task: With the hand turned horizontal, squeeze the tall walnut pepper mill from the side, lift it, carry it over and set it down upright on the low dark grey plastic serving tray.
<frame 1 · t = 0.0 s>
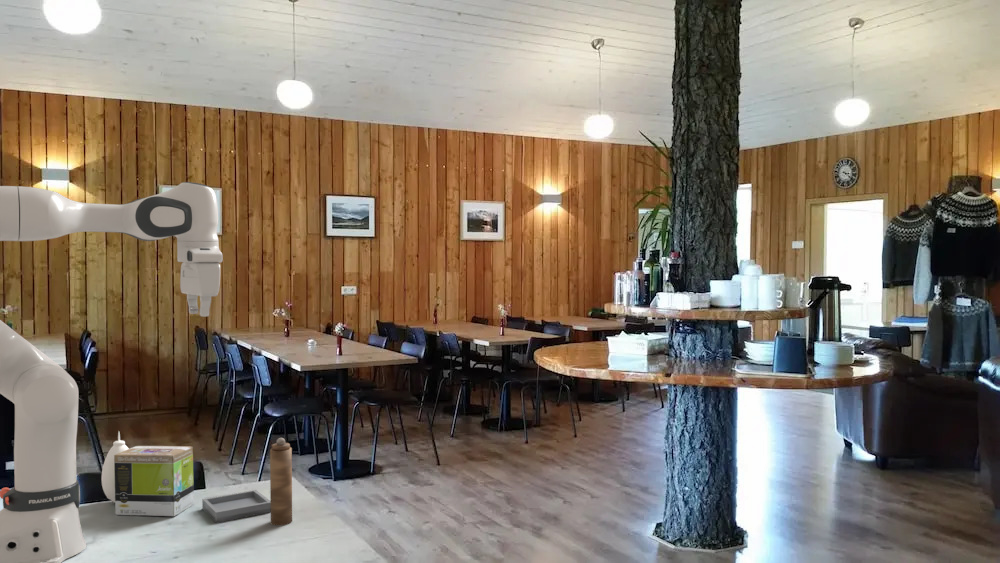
hand: (198, 315, 176), 48 cm above the table, tool pointing down, fingers open, 8 cm apart
tea box: (155, 510, 186), on the table
sauce bottle: (119, 503, 192), on the table
pepper mill: (281, 521, 178), on the table
serving tray: (237, 510, 186), on the table
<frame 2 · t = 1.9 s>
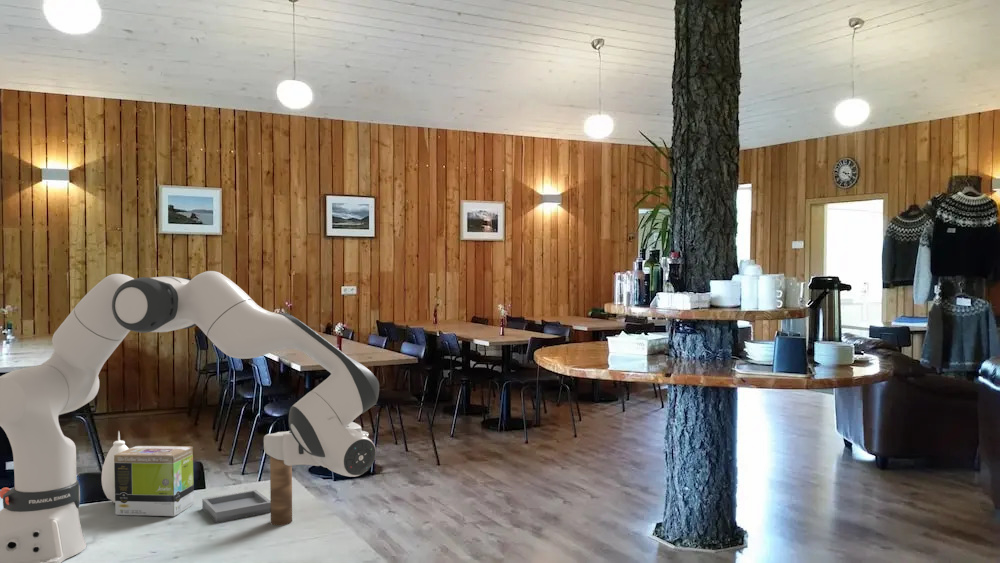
hand: (300, 432, 168), 23 cm above the table, tool horizontal, fingers open, 8 cm apart
nothing on the table moved.
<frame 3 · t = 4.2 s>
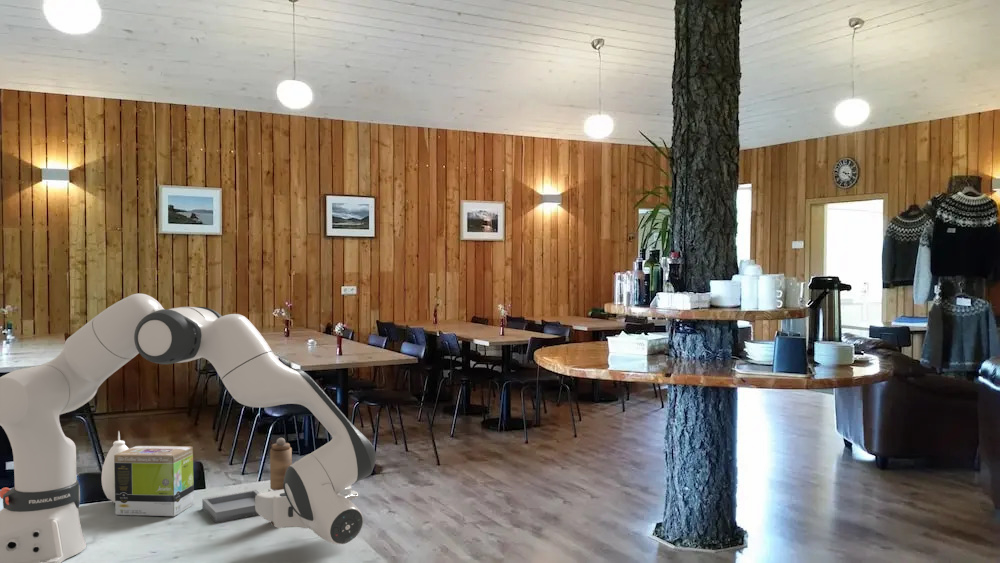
hand: (292, 488, 171), 10 cm above the table, tool horizontal, fingers open, 8 cm apart
nothing on the table moved.
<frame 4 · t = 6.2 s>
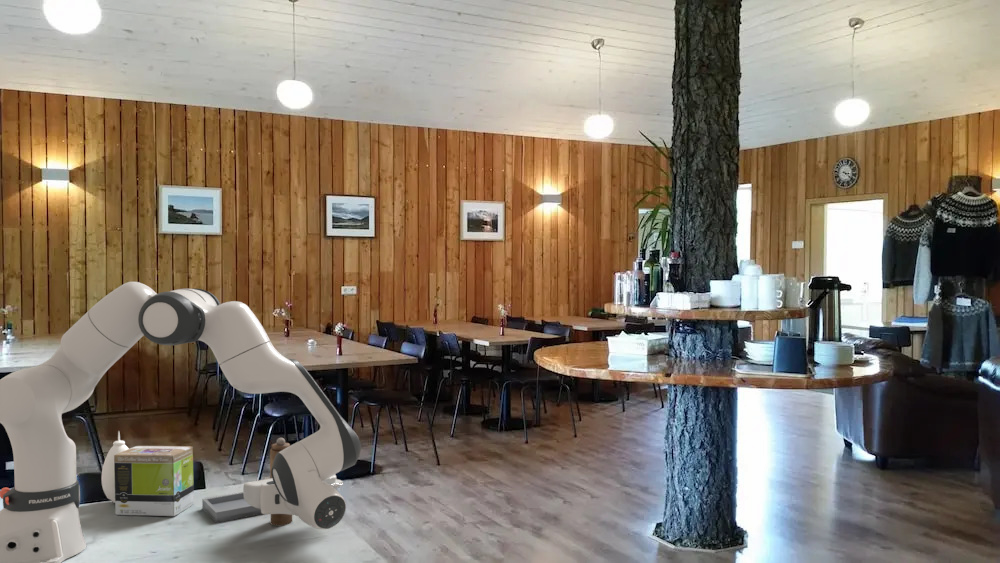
hand: (279, 478, 178), 10 cm above the table, tool horizontal, fingers closed on pepper mill, 5 cm apart
pepper mill: (281, 521, 178), on the table, touching gripper
everything else where it was.
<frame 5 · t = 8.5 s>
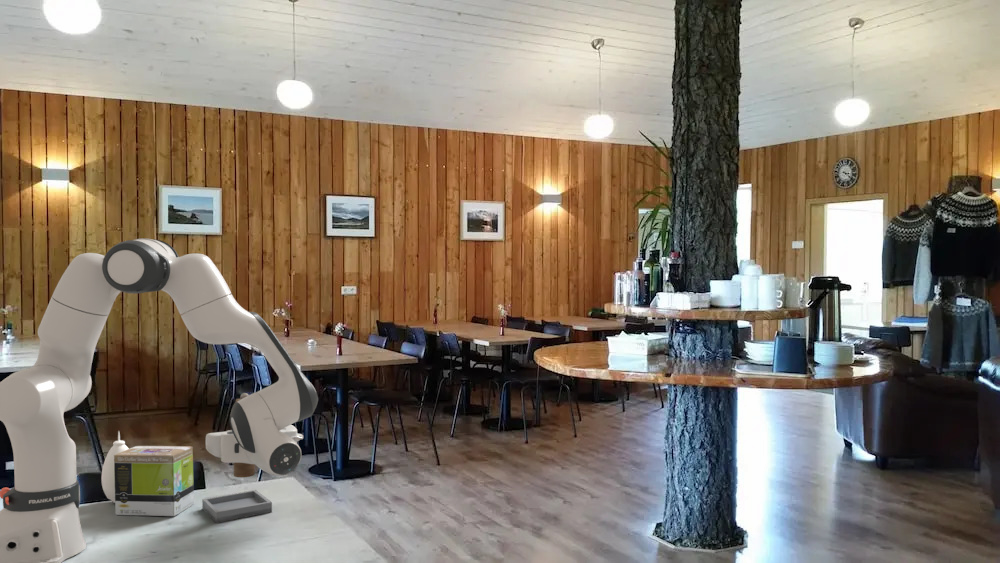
hand: (243, 432, 184), 19 cm above the table, tool horizontal, fingers closed on pepper mill, 5 cm apart
pepper mill: (244, 474, 184), point 9 cm above the table, touching gripper
everything else where it was.
when the fingers open (12 cm above the table, at t = 10.6 s): pepper mill drops 1 cm, resting on serving tray.
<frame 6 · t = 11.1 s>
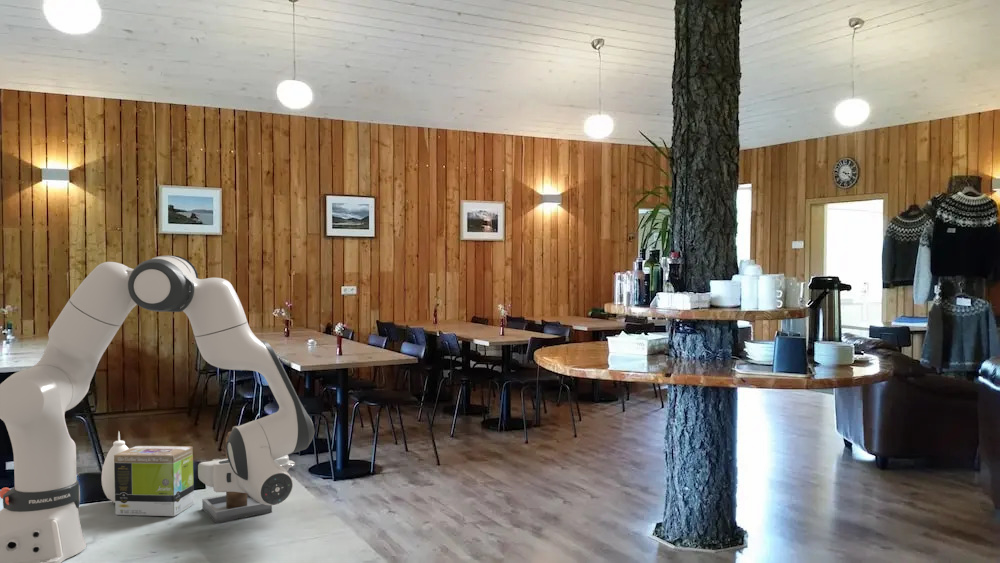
hand: (235, 459, 186), 12 cm above the table, tool horizontal, fingers open, 8 cm apart
pepper mill: (236, 506, 186), point 1 cm above the table, touching serving tray
everything else where it was.
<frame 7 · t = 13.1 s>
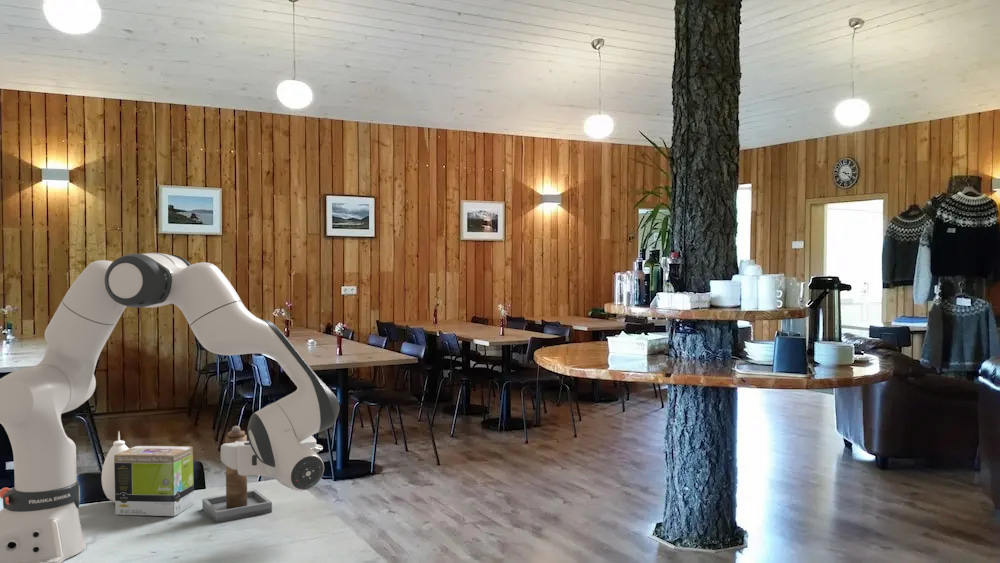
hand: (258, 441, 175), 19 cm above the table, tool horizontal, fingers open, 8 cm apart
nothing on the table moved.
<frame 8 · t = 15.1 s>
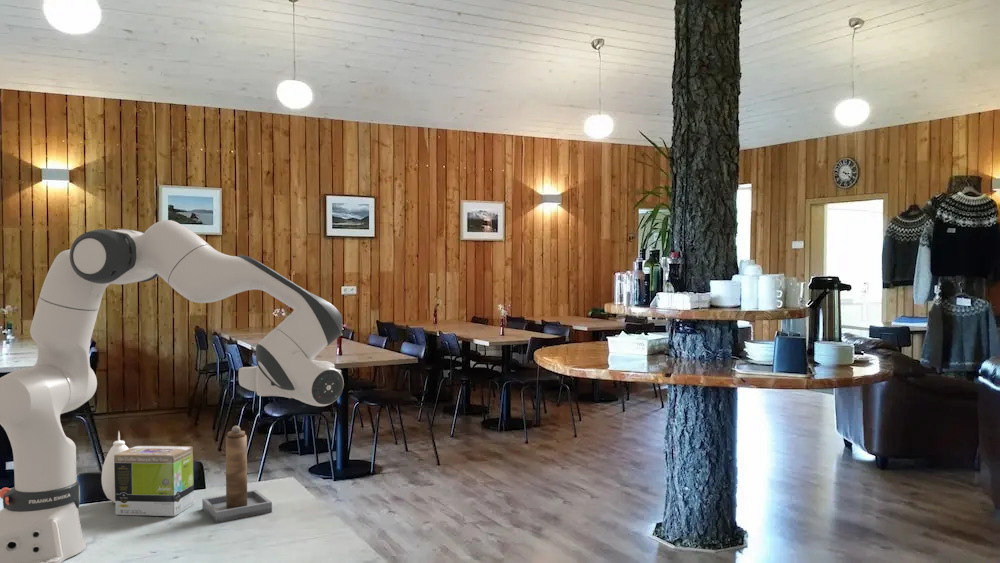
hand: (276, 369, 173), 36 cm above the table, tool horizontal, fingers open, 8 cm apart
nothing on the table moved.
at the end: pepper mill inside the target area on the serving tray (0.0 cm from its centre), point 1.0 cm above the serving tray's base; pepper mill tilted 0°; the gripper is holding nothing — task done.
